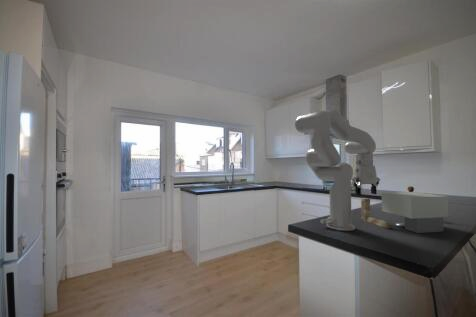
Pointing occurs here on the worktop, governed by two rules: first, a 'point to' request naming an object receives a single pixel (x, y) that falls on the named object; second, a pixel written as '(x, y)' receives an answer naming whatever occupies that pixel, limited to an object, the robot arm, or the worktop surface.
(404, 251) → the worktop surface
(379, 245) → the worktop surface
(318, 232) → the worktop surface
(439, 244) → the worktop surface
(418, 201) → the grey block
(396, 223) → the grey shiny disc
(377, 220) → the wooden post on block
